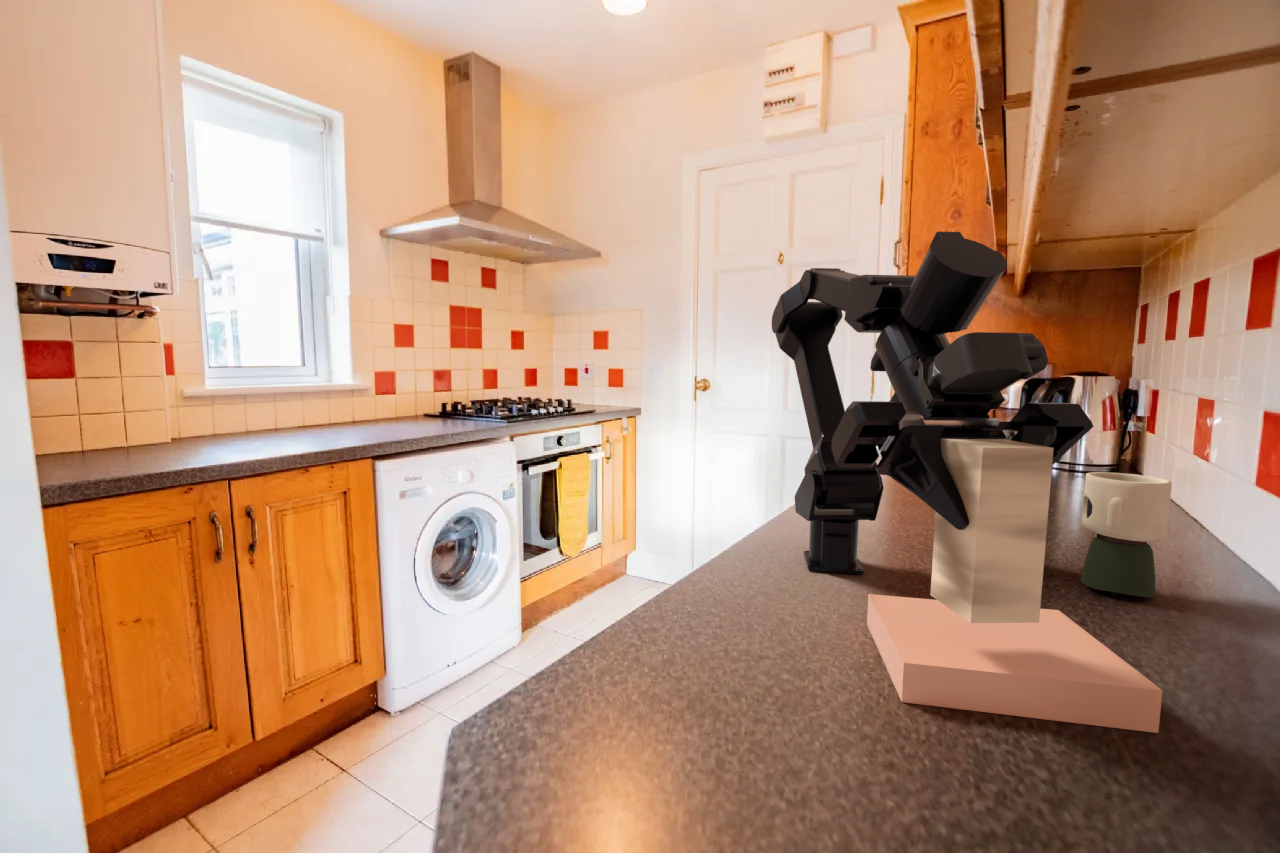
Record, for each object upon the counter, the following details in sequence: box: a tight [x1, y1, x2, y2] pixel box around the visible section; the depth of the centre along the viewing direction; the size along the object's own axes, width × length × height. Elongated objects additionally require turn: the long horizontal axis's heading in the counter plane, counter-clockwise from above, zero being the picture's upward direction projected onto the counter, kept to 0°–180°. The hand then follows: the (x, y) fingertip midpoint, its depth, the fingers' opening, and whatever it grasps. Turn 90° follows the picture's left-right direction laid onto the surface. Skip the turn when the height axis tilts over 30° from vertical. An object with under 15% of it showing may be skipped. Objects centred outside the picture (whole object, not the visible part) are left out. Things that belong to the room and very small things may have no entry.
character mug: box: [1080, 471, 1173, 598], centre depth 61 cm, size 11×7×13 cm, turn 129°
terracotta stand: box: [866, 593, 1164, 734], centre depth 45 cm, size 13×16×3 cm
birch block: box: [929, 439, 1054, 623], centre depth 41 cm, size 5×5×12 cm
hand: (1000, 527), depth 40 cm, fingers closed on birch block, 5 cm apart
